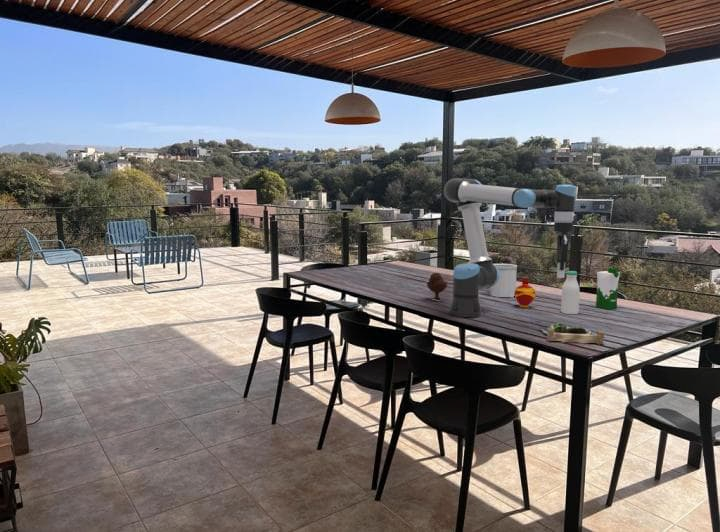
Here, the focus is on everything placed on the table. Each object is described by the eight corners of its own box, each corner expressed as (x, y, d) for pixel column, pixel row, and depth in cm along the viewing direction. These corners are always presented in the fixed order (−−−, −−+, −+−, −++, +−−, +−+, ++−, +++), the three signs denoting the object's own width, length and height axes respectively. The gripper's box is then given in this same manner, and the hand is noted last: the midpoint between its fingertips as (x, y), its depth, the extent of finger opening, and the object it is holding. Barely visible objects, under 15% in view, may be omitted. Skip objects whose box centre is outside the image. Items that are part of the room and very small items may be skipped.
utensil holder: (489, 297, 276) (491, 266, 274) (487, 293, 291) (488, 263, 289) (517, 298, 274) (519, 266, 272) (513, 293, 289) (515, 263, 286)
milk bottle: (580, 315, 233) (582, 272, 231) (562, 314, 235) (564, 272, 232) (576, 311, 241) (578, 270, 238) (559, 311, 242) (561, 270, 240)
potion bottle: (512, 307, 249) (514, 278, 247) (514, 304, 258) (515, 275, 257) (535, 309, 245) (536, 279, 243) (536, 305, 255) (537, 276, 253)
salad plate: (529, 335, 198) (530, 323, 198) (546, 326, 212) (547, 316, 211) (580, 344, 186) (581, 331, 185) (595, 334, 199) (595, 323, 199)
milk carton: (609, 310, 244) (612, 269, 242) (592, 307, 252) (594, 267, 249) (619, 308, 249) (622, 268, 247) (602, 305, 257) (604, 266, 254)
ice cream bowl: (448, 302, 263) (449, 273, 261) (427, 302, 263) (428, 273, 261) (445, 298, 273) (446, 271, 272) (425, 298, 274) (425, 271, 272)
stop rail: (548, 341, 187) (548, 330, 186) (546, 339, 190) (547, 328, 189) (603, 344, 184) (604, 332, 183) (601, 342, 186) (601, 331, 186)
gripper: (576, 222, 203) (573, 280, 206) (569, 221, 215) (566, 275, 218) (557, 222, 204) (554, 279, 207) (551, 221, 217) (548, 275, 220)
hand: (560, 277), depth 213 cm, fingers closed
